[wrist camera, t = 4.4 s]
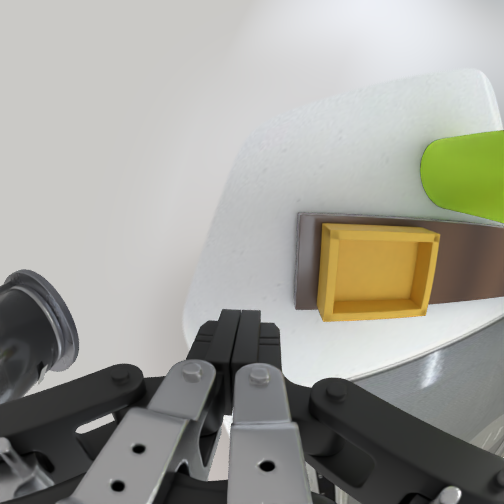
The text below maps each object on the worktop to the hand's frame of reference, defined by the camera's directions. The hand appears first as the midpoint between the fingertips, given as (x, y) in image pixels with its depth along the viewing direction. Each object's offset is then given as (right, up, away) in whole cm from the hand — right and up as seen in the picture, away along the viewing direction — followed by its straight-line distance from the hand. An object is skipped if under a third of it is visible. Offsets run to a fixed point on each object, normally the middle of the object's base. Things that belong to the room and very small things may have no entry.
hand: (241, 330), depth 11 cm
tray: (+9, +2, +8) cm, 12 cm away
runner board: (+19, +2, +9) cm, 21 cm away
